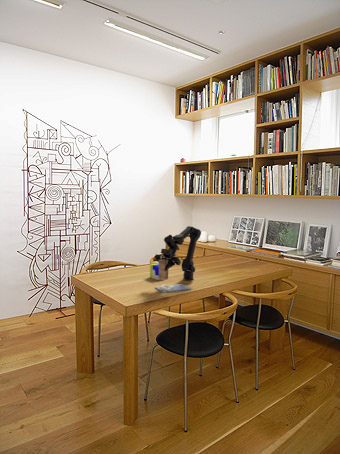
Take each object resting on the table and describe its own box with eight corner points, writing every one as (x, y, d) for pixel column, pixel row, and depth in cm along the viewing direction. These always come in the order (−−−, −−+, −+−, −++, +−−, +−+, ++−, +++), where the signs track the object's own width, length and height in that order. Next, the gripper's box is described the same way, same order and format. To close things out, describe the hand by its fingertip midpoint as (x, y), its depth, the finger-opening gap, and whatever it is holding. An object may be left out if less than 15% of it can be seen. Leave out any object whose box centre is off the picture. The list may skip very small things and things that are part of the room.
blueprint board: (182, 285, 237) (182, 281, 237) (190, 289, 226) (190, 286, 226) (155, 288, 228) (155, 284, 227) (162, 292, 217) (162, 289, 217)
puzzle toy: (157, 279, 250) (157, 266, 250) (150, 277, 259) (150, 264, 258) (168, 278, 256) (168, 265, 255) (160, 275, 264) (160, 263, 263)
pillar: (162, 277, 228) (162, 259, 227) (167, 278, 226) (168, 259, 225) (158, 279, 225) (158, 260, 224) (164, 280, 222) (164, 260, 221)
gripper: (156, 242, 232) (146, 260, 224) (178, 245, 221) (169, 264, 213) (162, 252, 239) (153, 270, 231) (184, 255, 228) (175, 274, 220)
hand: (162, 269), depth 224 cm, fingers closed on pillar, 4 cm apart
